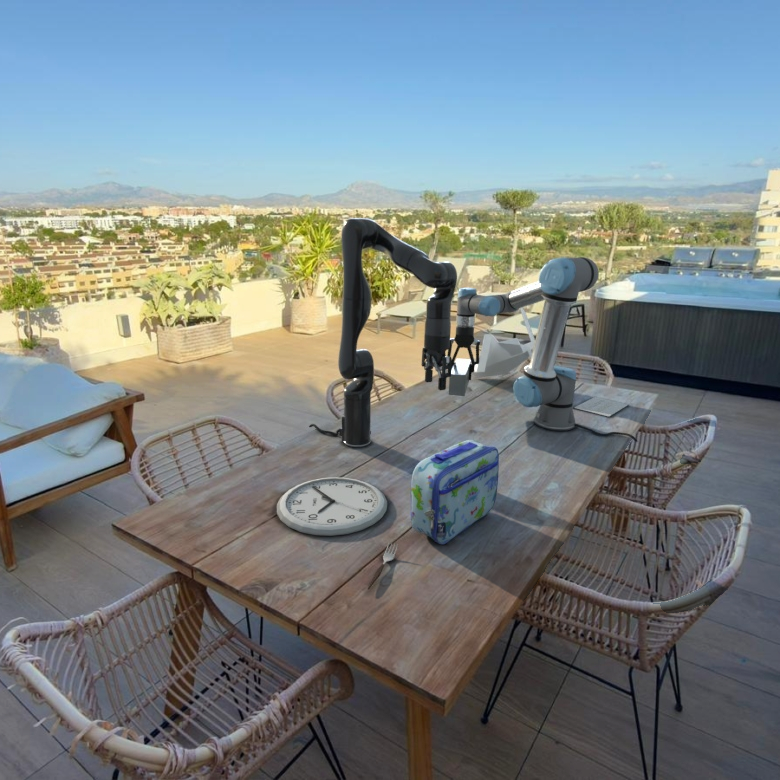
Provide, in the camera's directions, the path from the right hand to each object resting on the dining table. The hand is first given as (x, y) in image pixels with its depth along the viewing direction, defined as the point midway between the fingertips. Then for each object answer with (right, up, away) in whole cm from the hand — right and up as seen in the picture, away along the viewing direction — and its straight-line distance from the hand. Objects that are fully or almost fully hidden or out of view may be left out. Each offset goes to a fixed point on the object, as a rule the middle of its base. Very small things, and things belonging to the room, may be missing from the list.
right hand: (461, 378), depth 225 cm
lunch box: (-15, -40, -91) cm, 100 cm away
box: (-2, -3, -9) cm, 10 cm away
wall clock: (-47, -36, -82) cm, 101 cm away
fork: (-33, -45, -109) cm, 122 cm away
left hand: (-17, -4, -68) cm, 70 cm away
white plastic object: (+27, -2, +31) cm, 41 cm away
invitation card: (+61, -12, +1) cm, 62 cm away
